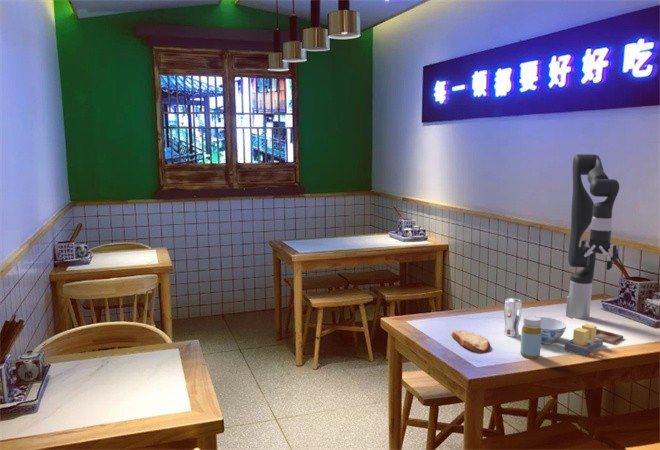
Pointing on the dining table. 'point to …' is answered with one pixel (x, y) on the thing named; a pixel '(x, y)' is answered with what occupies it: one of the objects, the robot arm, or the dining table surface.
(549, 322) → the chinaware
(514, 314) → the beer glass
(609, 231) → the robot arm
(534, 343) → the bottle
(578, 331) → the butter block
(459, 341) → the slice of bread
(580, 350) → the butter dish
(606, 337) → the tray
